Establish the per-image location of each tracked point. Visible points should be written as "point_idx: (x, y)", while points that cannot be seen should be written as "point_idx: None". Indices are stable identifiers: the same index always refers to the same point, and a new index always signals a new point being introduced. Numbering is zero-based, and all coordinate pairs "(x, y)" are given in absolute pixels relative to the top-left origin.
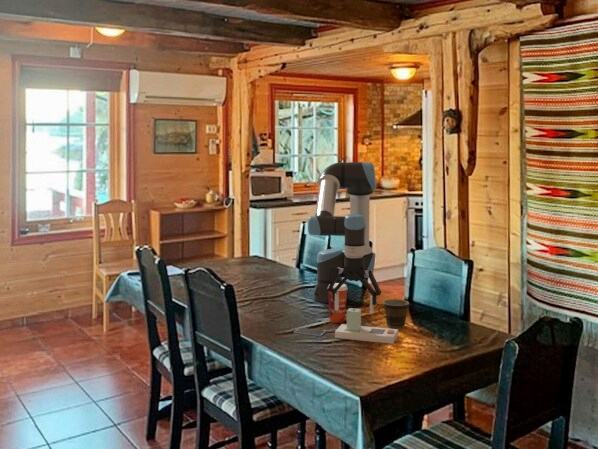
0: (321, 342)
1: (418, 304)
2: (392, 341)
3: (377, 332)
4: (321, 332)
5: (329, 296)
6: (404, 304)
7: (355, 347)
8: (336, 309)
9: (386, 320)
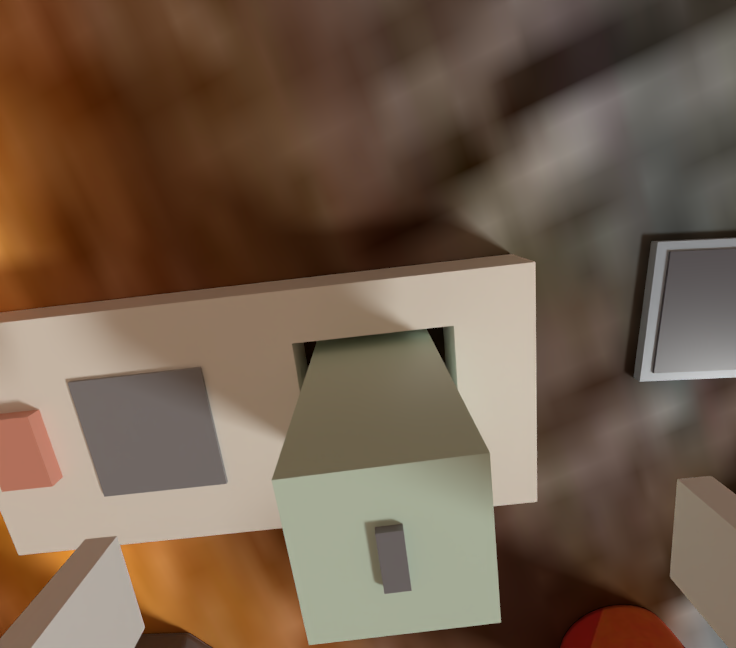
0: (595, 62)
1: None
2: None
3: (125, 393)
4: (667, 316)
5: None
6: None
7: (233, 58)
8: (695, 491)
9: None
